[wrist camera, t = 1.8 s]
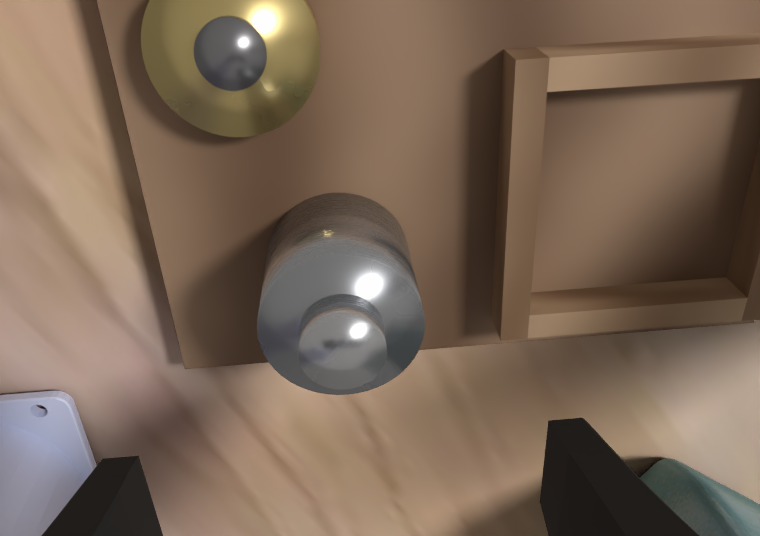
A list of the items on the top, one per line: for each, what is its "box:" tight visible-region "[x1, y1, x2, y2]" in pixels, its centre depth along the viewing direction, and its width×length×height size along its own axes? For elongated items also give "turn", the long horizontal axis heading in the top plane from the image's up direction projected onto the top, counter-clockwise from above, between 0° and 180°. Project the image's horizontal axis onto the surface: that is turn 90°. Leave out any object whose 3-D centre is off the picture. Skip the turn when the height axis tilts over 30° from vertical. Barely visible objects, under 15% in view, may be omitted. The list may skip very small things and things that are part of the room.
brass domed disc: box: [141, 0, 320, 137], centre depth 16 cm, size 4×4×1 cm
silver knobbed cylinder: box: [257, 193, 425, 395], centre depth 17 cm, size 4×4×5 cm
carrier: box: [97, 0, 760, 369], centre depth 18 cm, size 18×12×2 cm, turn 92°
